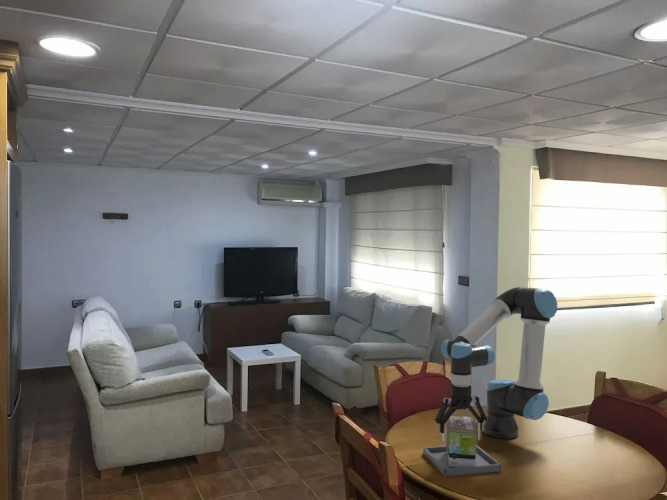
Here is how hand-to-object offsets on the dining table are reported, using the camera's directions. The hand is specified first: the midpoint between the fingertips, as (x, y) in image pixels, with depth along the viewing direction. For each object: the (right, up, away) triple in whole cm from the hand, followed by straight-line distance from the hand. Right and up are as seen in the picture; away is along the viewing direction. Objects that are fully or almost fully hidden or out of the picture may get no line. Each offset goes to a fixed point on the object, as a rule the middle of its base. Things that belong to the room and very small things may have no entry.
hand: (460, 440), depth 205 cm
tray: (0, -8, 0) cm, 8 cm away
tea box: (0, -8, 0) cm, 8 cm away
